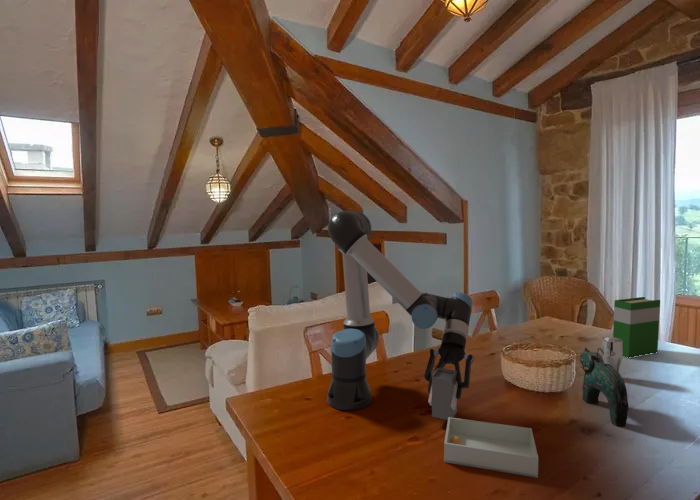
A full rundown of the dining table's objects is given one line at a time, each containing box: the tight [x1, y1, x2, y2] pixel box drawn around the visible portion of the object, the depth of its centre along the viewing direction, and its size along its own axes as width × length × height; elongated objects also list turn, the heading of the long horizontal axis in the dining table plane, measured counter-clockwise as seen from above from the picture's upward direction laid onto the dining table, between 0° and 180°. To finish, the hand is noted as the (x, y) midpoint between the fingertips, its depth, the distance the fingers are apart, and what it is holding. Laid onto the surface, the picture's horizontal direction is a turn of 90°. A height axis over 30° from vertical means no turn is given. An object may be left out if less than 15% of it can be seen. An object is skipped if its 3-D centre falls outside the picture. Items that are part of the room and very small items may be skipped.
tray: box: [443, 417, 539, 479], centre depth 107 cm, size 22×14×5 cm, turn 72°
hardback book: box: [612, 296, 661, 359], centre depth 178 cm, size 18×7×24 cm, turn 109°
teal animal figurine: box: [579, 347, 629, 427], centre depth 127 cm, size 20×6×20 cm, turn 178°
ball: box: [450, 436, 461, 445], centre depth 109 cm, size 3×3×3 cm
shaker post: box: [431, 368, 458, 421], centre depth 122 cm, size 6×6×13 cm
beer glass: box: [600, 336, 624, 374], centre depth 153 cm, size 7×7×15 cm
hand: (441, 405), depth 119 cm, fingers closed on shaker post, 6 cm apart
